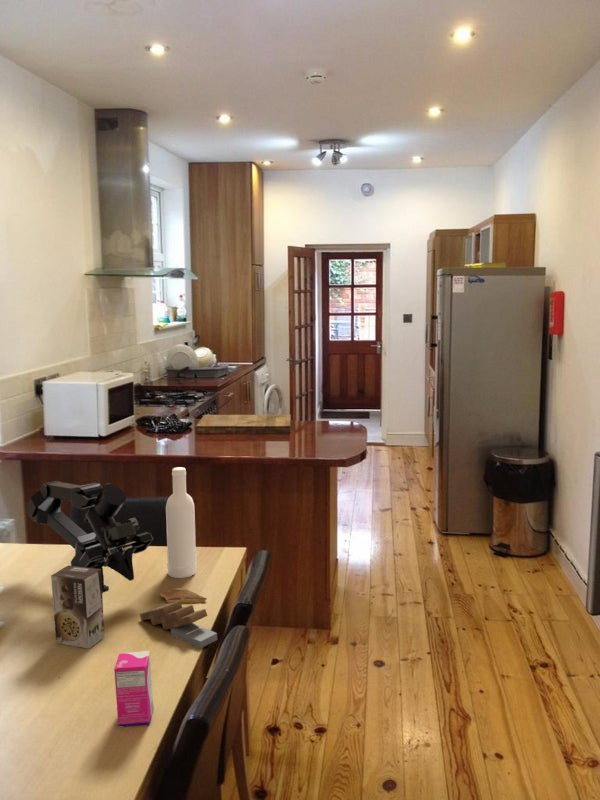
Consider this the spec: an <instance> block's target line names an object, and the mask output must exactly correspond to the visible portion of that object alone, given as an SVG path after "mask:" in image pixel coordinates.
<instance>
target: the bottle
mask: <svg viewBox="0 0 600 800" xmlns="http://www.w3.org/2000/svg"><path fill="white" fill-rule="evenodd" d="M186 469H187V468H185V467H182V466H181V467H180V466H178V467H173V468H172V469H171V471H172V472H171V476H172V494H171V495H170V496H169V497H168V499H167V501H166V503H165V504H166V505H165V519H166V549H167V551H166V552H167V553H166V554H167V567H166V568H167V574H168V576H169V577H171V578H175V579H185V578H190V577H193V576H194V575H195V574H196V573H197V555H196V554H197V552H196V551H197V550H196V519H195V518H196V516H195V514H196V513H195V510H196V509H195V503H194V499H193V497H192V496H191V495H190V494H189V493H187V471H186ZM192 575H193V576H192Z"/></svg>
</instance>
